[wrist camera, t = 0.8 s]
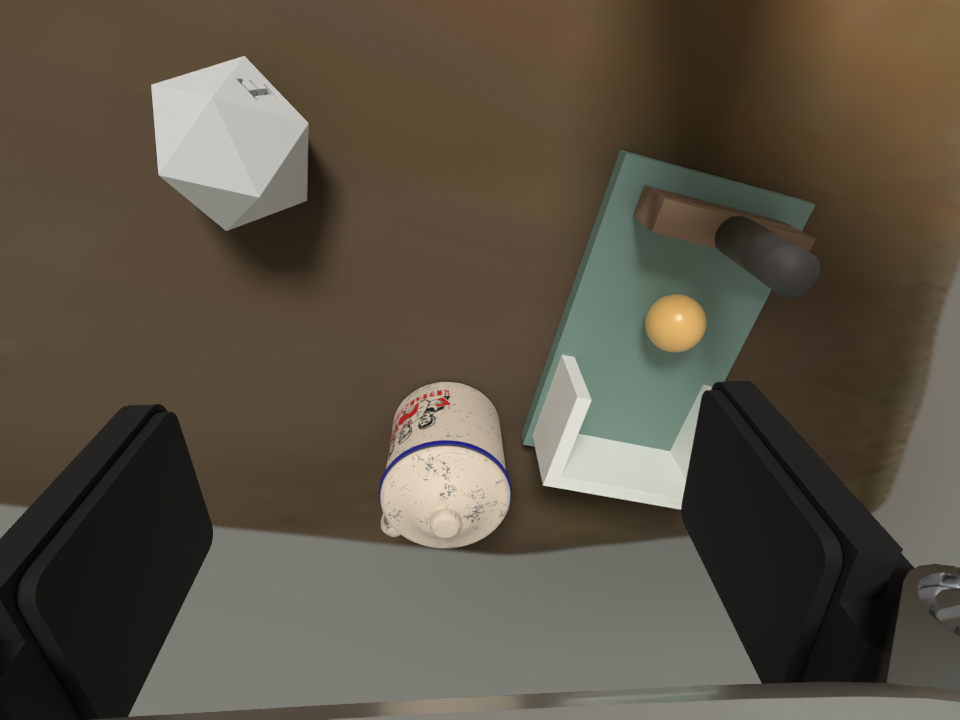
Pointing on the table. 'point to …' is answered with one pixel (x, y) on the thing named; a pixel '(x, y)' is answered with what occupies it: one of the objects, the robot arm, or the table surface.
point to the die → (230, 143)
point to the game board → (643, 340)
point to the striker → (736, 238)
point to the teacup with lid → (445, 468)
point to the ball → (675, 323)
